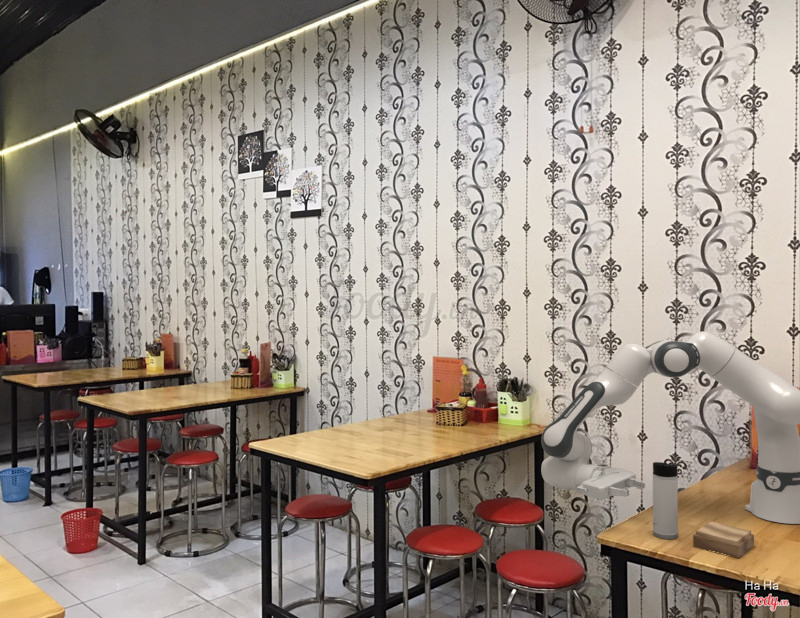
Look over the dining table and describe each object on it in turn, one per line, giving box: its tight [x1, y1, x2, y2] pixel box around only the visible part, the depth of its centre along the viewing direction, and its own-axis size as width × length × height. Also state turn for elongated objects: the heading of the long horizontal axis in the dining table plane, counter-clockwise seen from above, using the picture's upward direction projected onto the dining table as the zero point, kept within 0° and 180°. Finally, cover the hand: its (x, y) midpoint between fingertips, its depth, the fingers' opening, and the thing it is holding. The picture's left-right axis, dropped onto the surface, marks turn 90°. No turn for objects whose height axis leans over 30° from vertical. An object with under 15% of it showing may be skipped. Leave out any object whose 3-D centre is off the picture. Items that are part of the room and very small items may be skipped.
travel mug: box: [652, 461, 679, 540], centre depth 176 cm, size 6×7×20 cm
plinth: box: [692, 521, 755, 560], centre depth 168 cm, size 11×11×4 cm
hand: (636, 489), depth 182 cm, fingers open, 8 cm apart
